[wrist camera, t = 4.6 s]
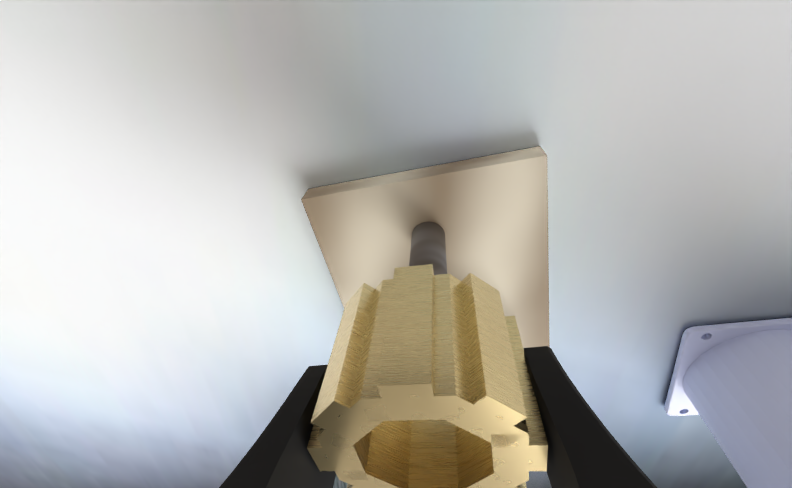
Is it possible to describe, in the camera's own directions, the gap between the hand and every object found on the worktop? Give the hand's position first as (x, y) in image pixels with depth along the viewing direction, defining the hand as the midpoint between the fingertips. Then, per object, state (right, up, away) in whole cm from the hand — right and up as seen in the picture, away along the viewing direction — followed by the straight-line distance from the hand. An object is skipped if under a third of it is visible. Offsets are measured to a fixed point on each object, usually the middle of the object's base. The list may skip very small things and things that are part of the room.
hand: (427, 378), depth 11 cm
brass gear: (0, +1, +1) cm, 2 cm away
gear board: (+2, +2, +10) cm, 10 cm away
